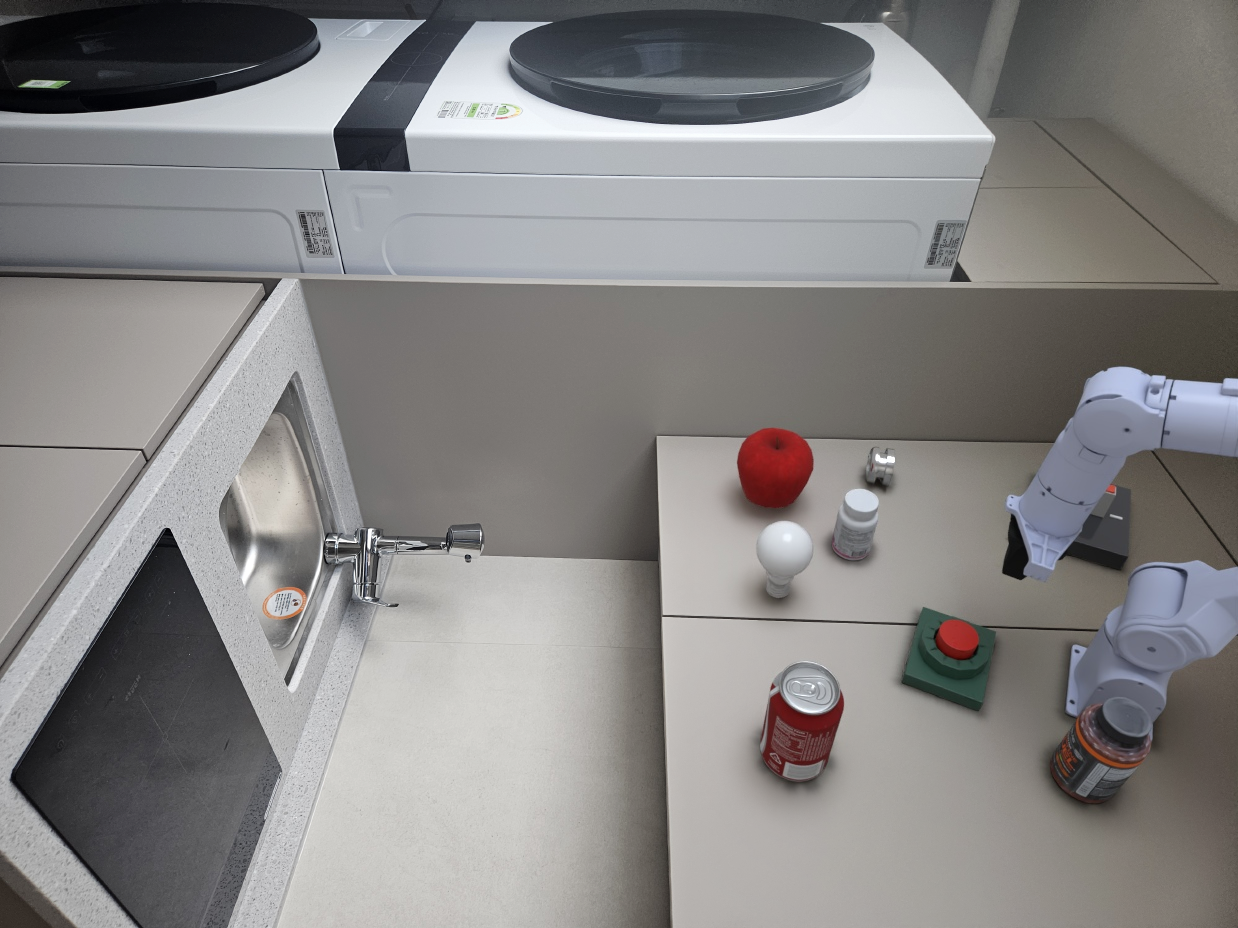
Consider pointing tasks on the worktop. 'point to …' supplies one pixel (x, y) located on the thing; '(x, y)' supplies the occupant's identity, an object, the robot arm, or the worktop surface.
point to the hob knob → (1104, 502)
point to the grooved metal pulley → (880, 465)
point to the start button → (957, 639)
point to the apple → (774, 467)
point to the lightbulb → (783, 554)
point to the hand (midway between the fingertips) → (1012, 572)
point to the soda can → (801, 721)
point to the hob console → (1106, 534)
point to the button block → (948, 663)
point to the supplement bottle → (1102, 749)
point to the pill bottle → (855, 524)
